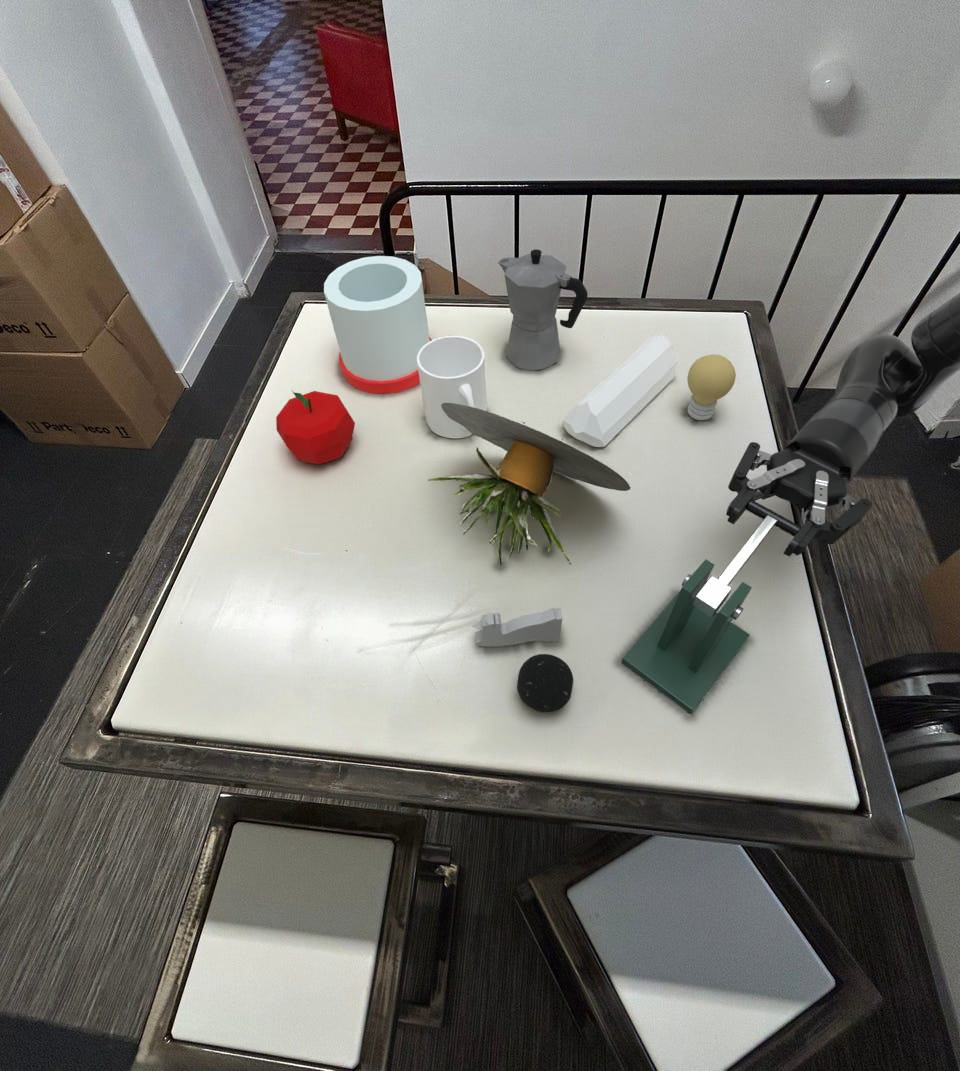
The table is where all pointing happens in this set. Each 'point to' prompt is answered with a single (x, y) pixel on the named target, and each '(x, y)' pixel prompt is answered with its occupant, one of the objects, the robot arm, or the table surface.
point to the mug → (451, 381)
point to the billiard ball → (545, 683)
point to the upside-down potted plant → (522, 474)
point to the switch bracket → (689, 643)
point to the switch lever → (741, 559)
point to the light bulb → (709, 384)
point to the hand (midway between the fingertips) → (760, 533)
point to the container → (378, 322)
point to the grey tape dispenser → (519, 629)
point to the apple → (315, 427)
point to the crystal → (623, 393)
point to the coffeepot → (537, 308)
